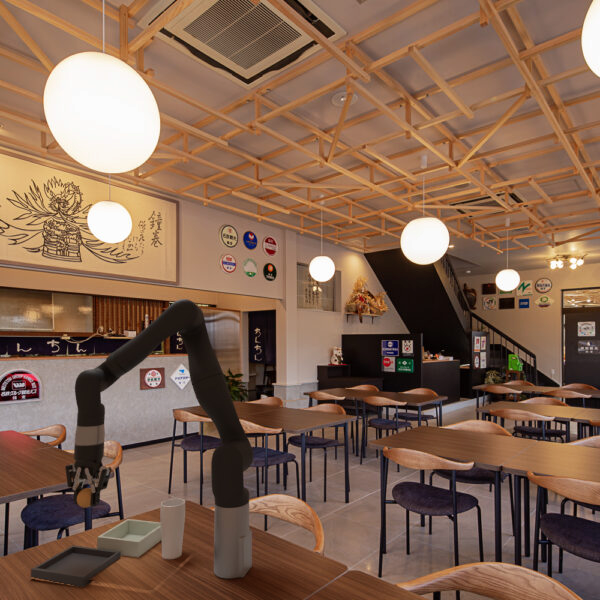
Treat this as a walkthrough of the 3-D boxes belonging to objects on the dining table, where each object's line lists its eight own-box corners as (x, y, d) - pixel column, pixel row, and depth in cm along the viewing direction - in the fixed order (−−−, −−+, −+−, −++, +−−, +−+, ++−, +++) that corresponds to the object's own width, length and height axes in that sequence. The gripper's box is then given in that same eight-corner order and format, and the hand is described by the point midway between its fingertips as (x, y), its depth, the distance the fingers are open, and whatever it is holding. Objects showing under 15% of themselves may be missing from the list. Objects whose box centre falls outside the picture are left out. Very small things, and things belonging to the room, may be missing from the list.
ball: (100, 505, 122) (101, 486, 122) (86, 511, 117) (87, 492, 117) (85, 503, 123) (86, 484, 124) (71, 509, 118) (73, 490, 119)
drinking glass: (158, 565, 118) (160, 507, 120) (159, 554, 124) (161, 499, 126) (184, 562, 120) (185, 505, 121) (184, 551, 126) (185, 497, 128)
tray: (120, 561, 121) (120, 551, 121) (82, 588, 107) (83, 577, 108) (72, 554, 125) (72, 545, 125) (30, 579, 111) (31, 569, 112)
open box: (165, 540, 134) (165, 523, 134) (138, 561, 121) (138, 542, 121) (127, 535, 137) (127, 518, 138) (96, 555, 124) (97, 536, 125)
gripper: (120, 440, 123) (117, 503, 121) (79, 436, 127) (75, 497, 126) (101, 446, 116) (97, 512, 114) (58, 442, 120) (54, 506, 119)
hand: (86, 504), depth 120 cm, fingers closed on ball, 5 cm apart
